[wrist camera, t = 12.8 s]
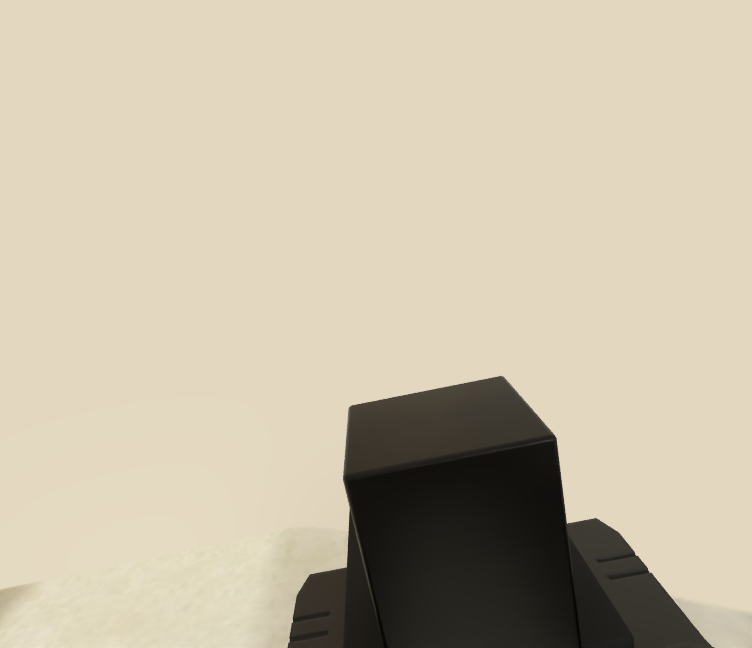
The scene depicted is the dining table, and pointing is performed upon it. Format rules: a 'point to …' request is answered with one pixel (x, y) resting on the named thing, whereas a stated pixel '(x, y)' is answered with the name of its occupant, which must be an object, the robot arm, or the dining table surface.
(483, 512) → the dark upright knife handle
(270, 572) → the dining table surface
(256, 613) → the dining table surface
